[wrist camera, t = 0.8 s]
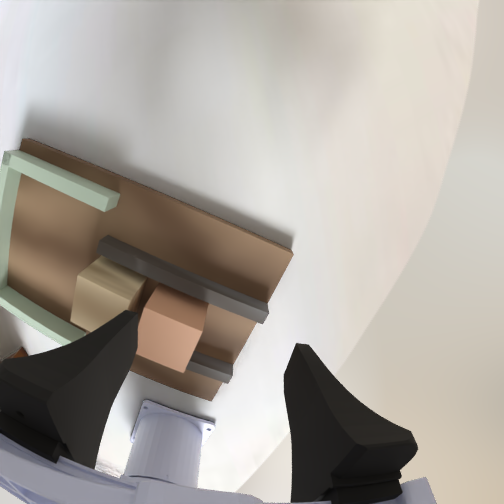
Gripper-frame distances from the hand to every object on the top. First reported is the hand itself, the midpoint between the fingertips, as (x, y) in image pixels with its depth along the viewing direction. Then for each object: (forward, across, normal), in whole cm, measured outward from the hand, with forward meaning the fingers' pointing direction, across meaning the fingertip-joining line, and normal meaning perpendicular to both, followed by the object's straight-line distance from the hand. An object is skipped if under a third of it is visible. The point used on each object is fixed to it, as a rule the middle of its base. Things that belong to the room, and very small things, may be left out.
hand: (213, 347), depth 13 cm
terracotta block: (+9, +3, +5) cm, 11 cm away
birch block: (+9, +8, +4) cm, 12 cm away
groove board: (+10, +9, +3) cm, 14 cm away
